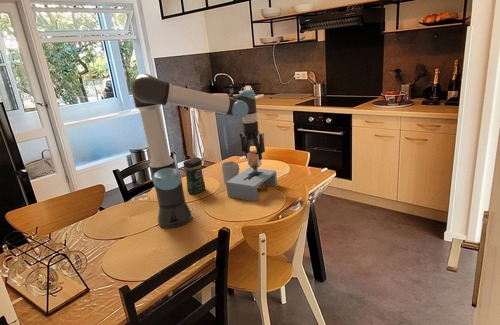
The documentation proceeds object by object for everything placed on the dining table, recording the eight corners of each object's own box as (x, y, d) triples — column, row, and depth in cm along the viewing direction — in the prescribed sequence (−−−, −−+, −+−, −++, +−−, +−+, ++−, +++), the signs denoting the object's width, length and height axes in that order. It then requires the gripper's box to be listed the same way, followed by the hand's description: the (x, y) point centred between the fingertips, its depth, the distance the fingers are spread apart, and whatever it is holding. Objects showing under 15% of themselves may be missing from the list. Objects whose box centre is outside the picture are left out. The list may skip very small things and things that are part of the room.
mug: (232, 185, 186) (230, 167, 182) (220, 183, 191) (218, 165, 187) (245, 178, 195) (243, 160, 191) (233, 176, 200) (231, 158, 196)
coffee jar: (194, 195, 178) (189, 162, 172) (185, 192, 183) (179, 160, 177) (208, 189, 184) (203, 157, 179) (199, 186, 190) (194, 155, 184)
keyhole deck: (255, 201, 163) (254, 186, 161) (227, 196, 172) (225, 182, 170) (277, 184, 181) (276, 170, 178) (250, 180, 190) (249, 167, 187)
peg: (257, 181, 175) (255, 153, 170) (249, 180, 177) (246, 153, 173) (263, 177, 179) (260, 150, 174) (254, 176, 182) (251, 150, 177)
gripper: (269, 120, 166) (273, 164, 174) (239, 119, 176) (244, 161, 183) (261, 123, 160) (266, 169, 168) (231, 122, 170) (236, 165, 178)
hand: (254, 164), depth 176 cm, fingers closed on peg, 5 cm apart
